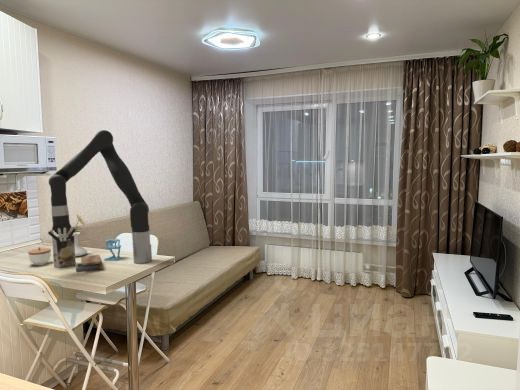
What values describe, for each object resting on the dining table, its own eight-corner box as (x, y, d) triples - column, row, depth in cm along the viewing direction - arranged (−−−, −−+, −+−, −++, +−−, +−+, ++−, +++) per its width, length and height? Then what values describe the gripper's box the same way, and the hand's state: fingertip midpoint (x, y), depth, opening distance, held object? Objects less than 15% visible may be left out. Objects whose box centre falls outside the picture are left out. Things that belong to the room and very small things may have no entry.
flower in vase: (81, 257, 214) (78, 215, 211) (62, 258, 214) (59, 216, 212) (92, 252, 227) (89, 212, 224) (74, 252, 227) (71, 213, 225)
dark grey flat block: (96, 265, 197) (96, 261, 197) (97, 268, 190) (97, 264, 190) (75, 268, 193) (75, 264, 192) (76, 272, 186) (76, 267, 185)
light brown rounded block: (99, 262, 202) (99, 254, 202) (102, 269, 188) (101, 261, 188) (81, 265, 198) (81, 256, 197) (83, 272, 184) (82, 263, 183)
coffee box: (58, 268, 193) (56, 238, 191) (53, 266, 197) (51, 237, 196) (76, 264, 200) (74, 235, 198) (71, 262, 204) (69, 234, 203)
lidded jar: (56, 261, 206) (54, 245, 205) (40, 267, 196) (38, 250, 195) (41, 260, 209) (39, 244, 208) (24, 266, 199) (23, 249, 198)
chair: (123, 256, 214) (122, 236, 213) (117, 260, 206) (116, 239, 205) (110, 257, 215) (109, 236, 214) (104, 260, 206) (102, 239, 205)
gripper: (74, 212, 190) (78, 244, 192) (45, 215, 184) (49, 248, 185) (75, 213, 183) (78, 247, 185) (45, 216, 177) (48, 251, 179)
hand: (63, 248), depth 185 cm, fingers closed
